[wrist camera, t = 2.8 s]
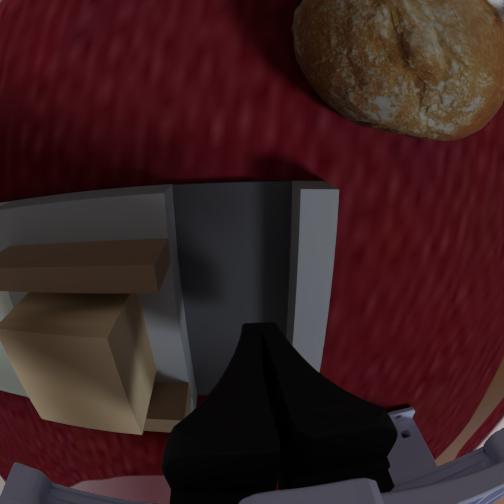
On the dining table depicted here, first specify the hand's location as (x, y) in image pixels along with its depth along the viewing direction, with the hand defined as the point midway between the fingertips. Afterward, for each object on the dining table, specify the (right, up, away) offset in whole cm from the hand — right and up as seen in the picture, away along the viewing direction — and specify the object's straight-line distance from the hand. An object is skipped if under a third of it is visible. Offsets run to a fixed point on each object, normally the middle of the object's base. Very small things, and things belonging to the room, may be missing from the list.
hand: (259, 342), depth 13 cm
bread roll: (+6, +14, -1) cm, 15 cm away
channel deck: (-8, +1, +2) cm, 8 cm away
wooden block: (-7, 0, +1) cm, 7 cm away
